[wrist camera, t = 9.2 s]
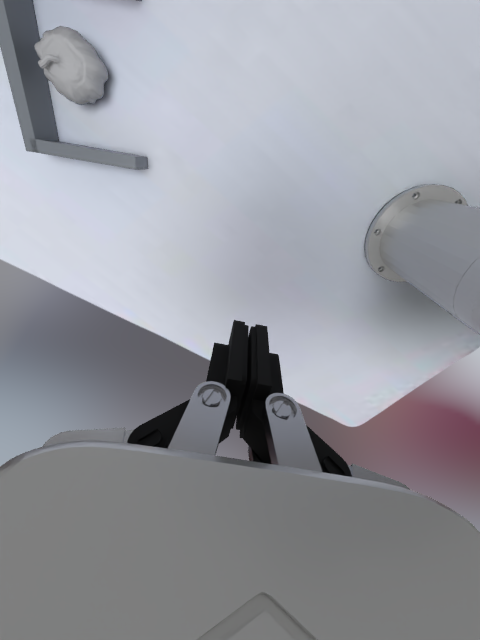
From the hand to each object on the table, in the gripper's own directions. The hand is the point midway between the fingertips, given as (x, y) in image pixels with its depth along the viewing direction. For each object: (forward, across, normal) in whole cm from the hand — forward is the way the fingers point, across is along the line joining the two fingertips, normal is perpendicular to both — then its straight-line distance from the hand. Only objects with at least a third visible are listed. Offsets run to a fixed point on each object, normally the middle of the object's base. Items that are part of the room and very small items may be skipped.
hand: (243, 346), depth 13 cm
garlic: (+26, +20, -12) cm, 35 cm away
